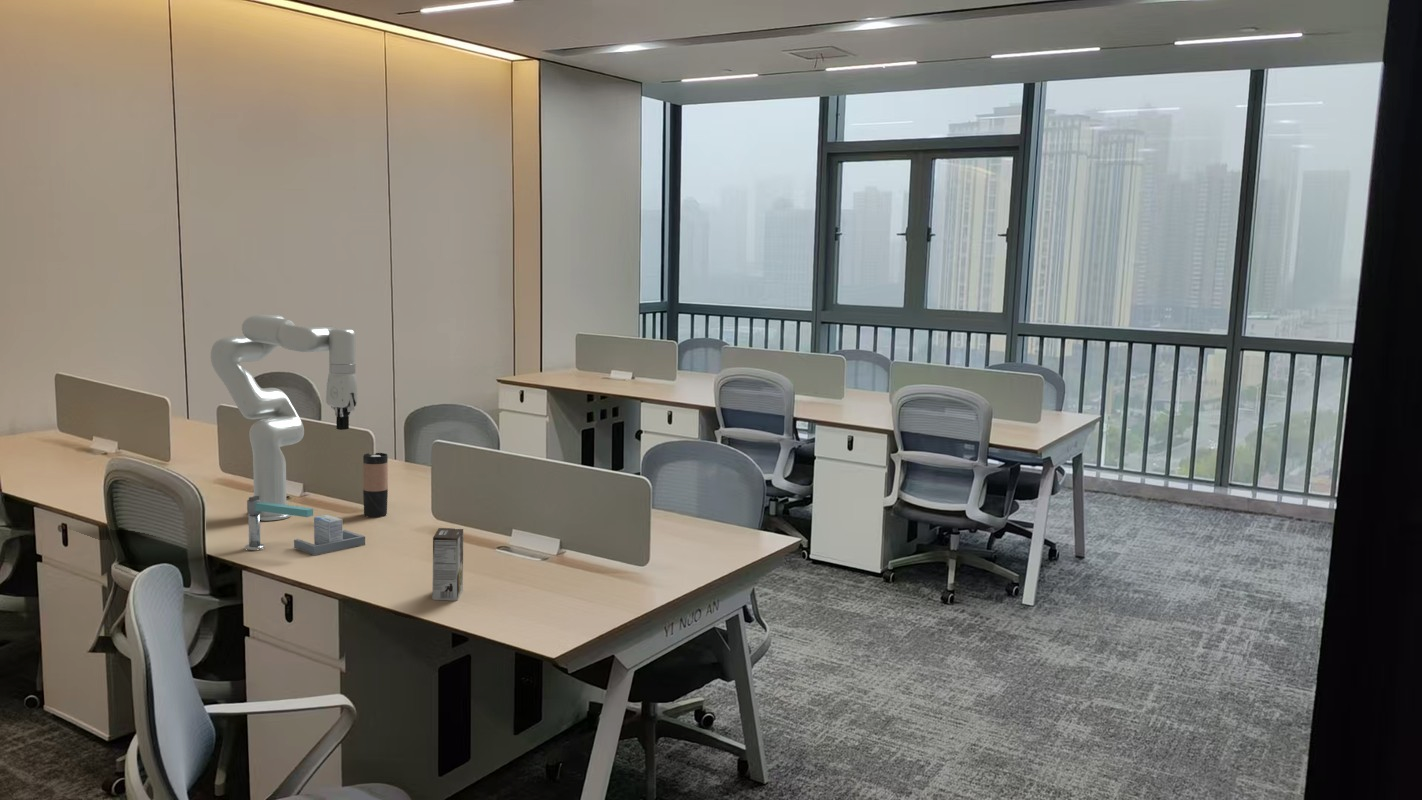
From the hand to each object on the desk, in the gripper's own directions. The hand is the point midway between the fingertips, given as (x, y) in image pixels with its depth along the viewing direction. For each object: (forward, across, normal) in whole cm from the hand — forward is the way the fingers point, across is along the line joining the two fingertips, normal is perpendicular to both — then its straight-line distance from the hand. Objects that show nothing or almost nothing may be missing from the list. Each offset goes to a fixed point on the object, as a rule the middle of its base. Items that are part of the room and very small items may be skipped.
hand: (342, 429), depth 312 cm
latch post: (+31, +3, -30) cm, 43 cm away
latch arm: (+21, +11, -27) cm, 36 cm away
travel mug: (+31, -8, +17) cm, 37 cm away
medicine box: (+31, +16, -15) cm, 38 cm away
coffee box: (+31, +74, -18) cm, 82 cm away
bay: (+31, +15, -14) cm, 37 cm away
